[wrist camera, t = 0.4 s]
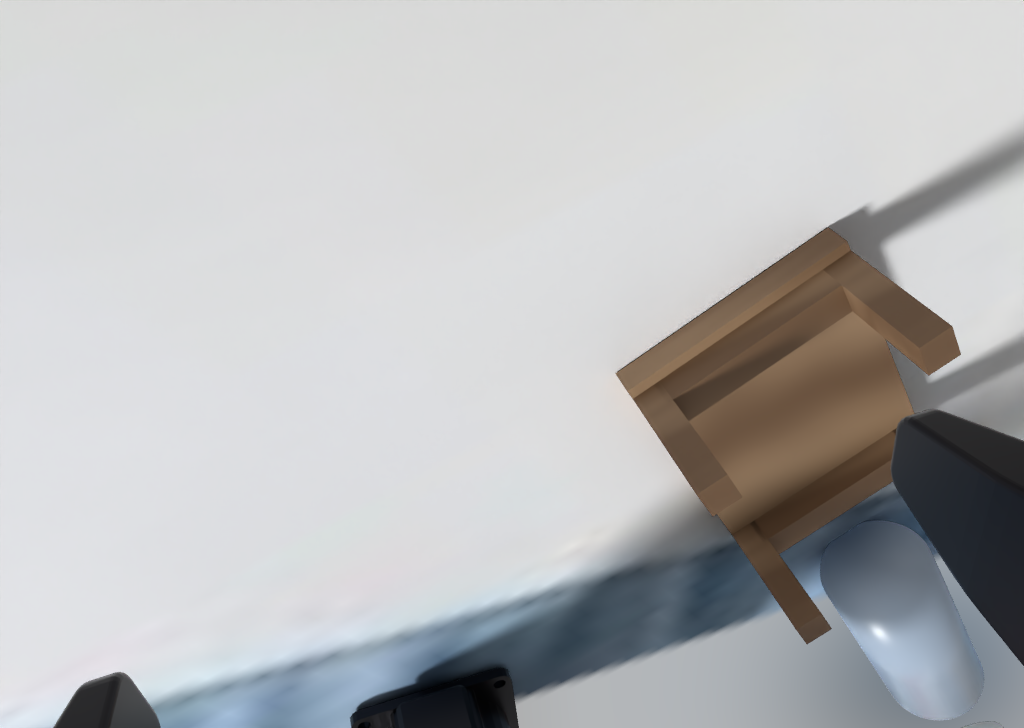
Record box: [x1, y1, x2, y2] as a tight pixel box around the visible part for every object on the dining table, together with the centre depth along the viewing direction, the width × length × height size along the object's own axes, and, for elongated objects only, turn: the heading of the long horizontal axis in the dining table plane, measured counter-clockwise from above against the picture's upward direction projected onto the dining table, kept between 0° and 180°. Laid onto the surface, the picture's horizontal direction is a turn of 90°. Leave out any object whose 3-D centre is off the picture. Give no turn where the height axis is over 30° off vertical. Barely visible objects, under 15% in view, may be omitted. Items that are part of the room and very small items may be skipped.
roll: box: [820, 520, 984, 720], centre depth 37 cm, size 11×4×4 cm, turn 31°
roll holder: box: [616, 228, 961, 644], centre depth 28 cm, size 11×8×6 cm
